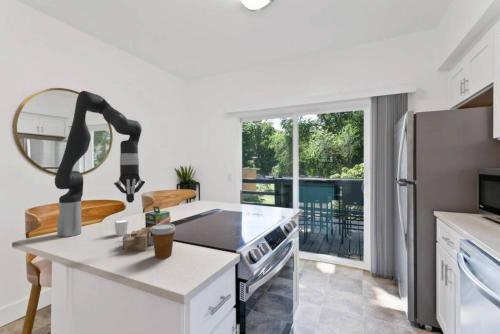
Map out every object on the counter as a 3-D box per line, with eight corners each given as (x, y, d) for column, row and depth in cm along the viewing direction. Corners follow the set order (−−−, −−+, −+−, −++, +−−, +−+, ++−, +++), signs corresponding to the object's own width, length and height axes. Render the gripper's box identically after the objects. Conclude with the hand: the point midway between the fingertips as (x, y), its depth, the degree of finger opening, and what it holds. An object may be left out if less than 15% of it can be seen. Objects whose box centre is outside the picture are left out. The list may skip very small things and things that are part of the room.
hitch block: (124, 252, 100) (124, 237, 100) (132, 241, 114) (132, 228, 114) (145, 250, 102) (145, 236, 102) (150, 239, 116) (150, 227, 116)
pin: (122, 249, 104) (122, 237, 104) (125, 244, 109) (125, 234, 109) (154, 246, 108) (154, 235, 108) (155, 242, 113) (155, 231, 113)
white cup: (123, 236, 121) (123, 223, 121) (111, 235, 122) (111, 222, 122) (132, 232, 128) (132, 220, 128) (121, 232, 129) (121, 219, 129)
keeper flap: (149, 233, 107) (147, 231, 106) (150, 230, 111) (149, 228, 111) (171, 220, 109) (169, 218, 109) (171, 218, 114) (170, 215, 113)
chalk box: (170, 233, 128) (170, 205, 128) (155, 237, 120) (155, 208, 120) (159, 230, 133) (159, 204, 133) (144, 234, 125) (144, 206, 125)
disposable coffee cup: (161, 262, 90) (161, 230, 90) (145, 256, 95) (145, 227, 95) (180, 254, 98) (180, 225, 98) (165, 249, 103) (165, 222, 103)
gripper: (141, 164, 114) (142, 200, 114) (110, 164, 105) (111, 203, 105) (147, 163, 108) (148, 201, 108) (115, 163, 99) (116, 205, 99)
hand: (130, 202), depth 107 cm, fingers closed
